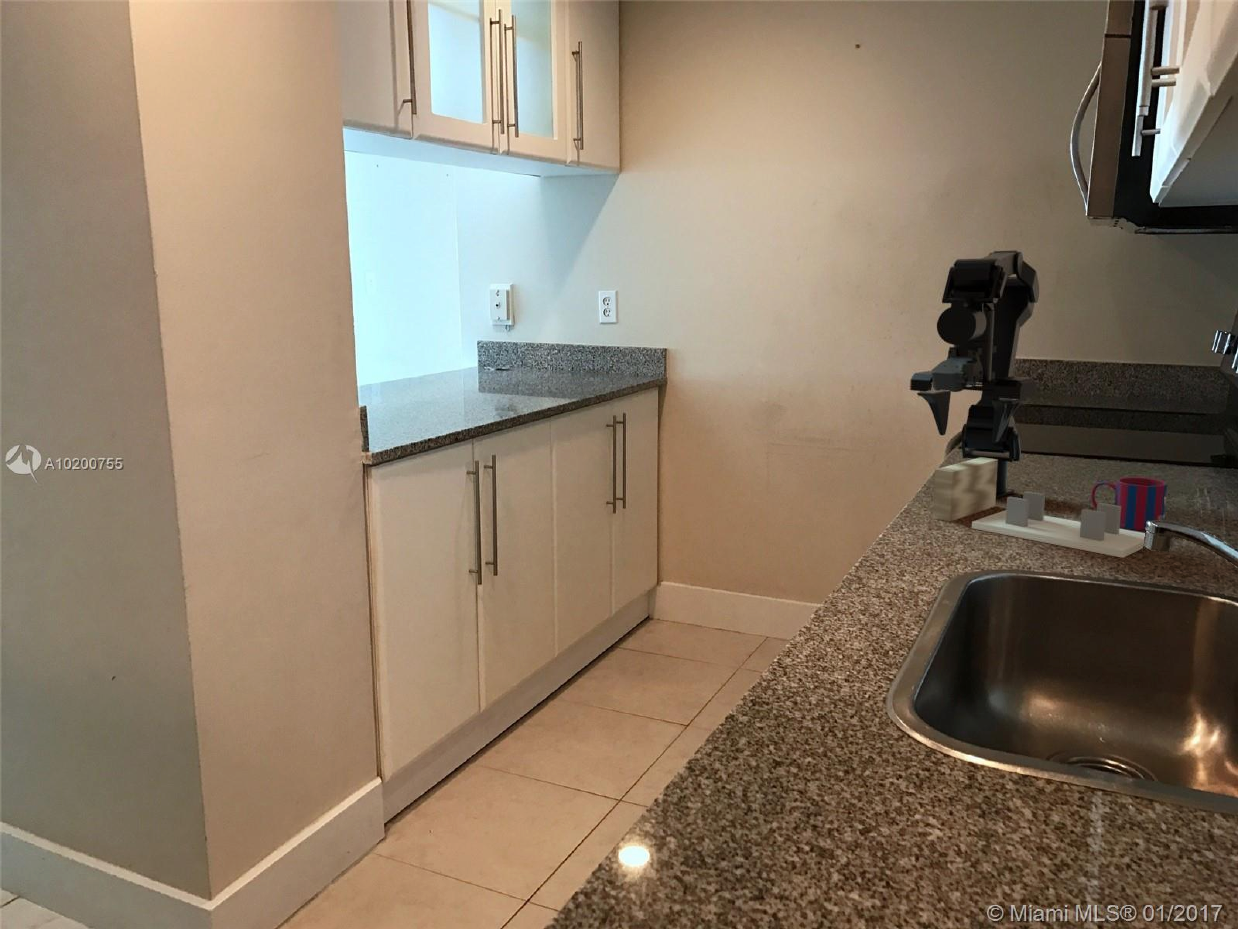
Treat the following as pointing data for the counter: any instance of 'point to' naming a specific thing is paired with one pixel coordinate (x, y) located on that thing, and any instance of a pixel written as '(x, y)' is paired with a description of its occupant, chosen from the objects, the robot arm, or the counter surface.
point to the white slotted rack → (1064, 526)
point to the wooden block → (964, 488)
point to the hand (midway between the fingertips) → (968, 438)
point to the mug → (1137, 500)
